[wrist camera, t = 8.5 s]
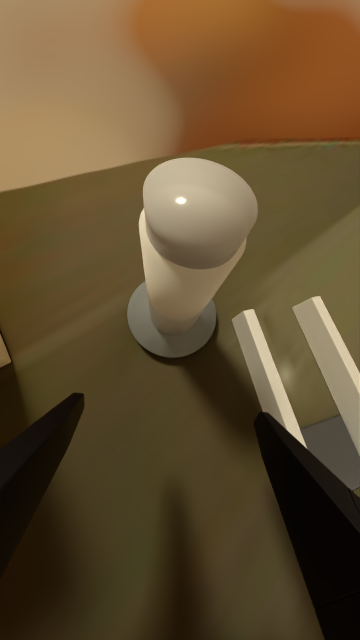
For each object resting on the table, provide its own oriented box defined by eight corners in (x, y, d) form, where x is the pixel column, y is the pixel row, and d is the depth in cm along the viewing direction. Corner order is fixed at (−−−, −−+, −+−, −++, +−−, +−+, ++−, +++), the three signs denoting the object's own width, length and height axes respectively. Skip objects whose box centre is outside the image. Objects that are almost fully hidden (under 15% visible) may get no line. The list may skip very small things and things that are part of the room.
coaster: (224, 347, 19) (227, 345, 18) (136, 367, 18) (135, 367, 17) (201, 273, 22) (202, 268, 21) (123, 284, 20) (121, 279, 19)
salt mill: (204, 318, 19) (289, 218, 7) (167, 344, 18) (188, 275, 5) (178, 284, 20) (211, 142, 8) (140, 306, 19) (108, 172, 6)
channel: (390, 500, 17) (438, 526, 14) (307, 544, 15) (343, 585, 12) (299, 305, 22) (319, 296, 20) (231, 319, 21) (243, 311, 18)
